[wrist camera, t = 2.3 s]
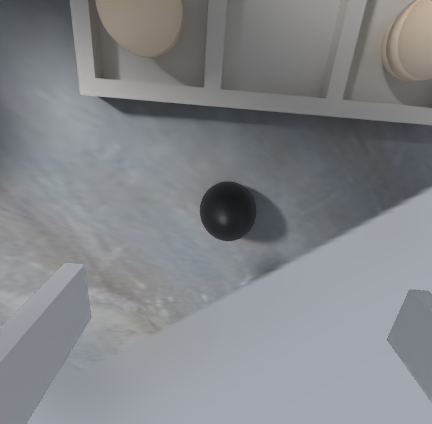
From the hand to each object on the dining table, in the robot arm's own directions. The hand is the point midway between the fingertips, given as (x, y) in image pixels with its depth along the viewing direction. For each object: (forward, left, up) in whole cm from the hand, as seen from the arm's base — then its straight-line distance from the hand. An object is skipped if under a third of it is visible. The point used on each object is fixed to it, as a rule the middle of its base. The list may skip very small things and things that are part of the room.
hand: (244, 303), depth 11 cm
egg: (0, 0, -11) cm, 11 cm away
